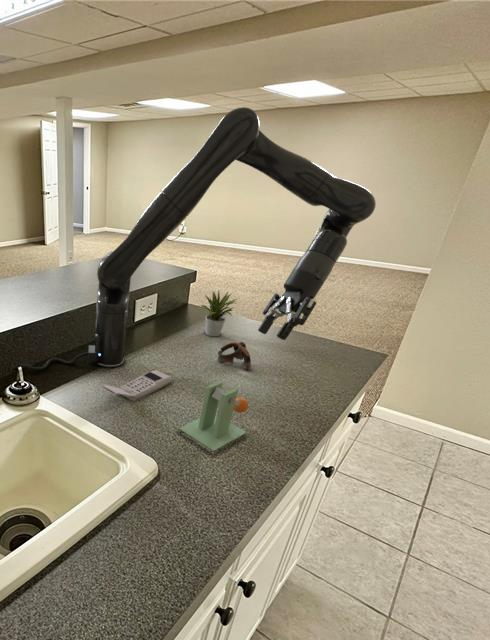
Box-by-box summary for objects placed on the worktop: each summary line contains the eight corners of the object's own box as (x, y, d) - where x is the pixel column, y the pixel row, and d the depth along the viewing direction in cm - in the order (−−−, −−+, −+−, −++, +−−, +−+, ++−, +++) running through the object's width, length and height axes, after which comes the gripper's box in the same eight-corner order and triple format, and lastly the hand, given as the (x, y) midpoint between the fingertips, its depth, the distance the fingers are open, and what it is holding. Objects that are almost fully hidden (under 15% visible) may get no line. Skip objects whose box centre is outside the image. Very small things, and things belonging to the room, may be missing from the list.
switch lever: (233, 409, 99) (240, 396, 99) (245, 416, 97) (253, 403, 96) (207, 397, 89) (215, 383, 89) (220, 404, 87) (229, 389, 86)
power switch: (210, 417, 101) (220, 372, 95) (245, 437, 94) (258, 390, 88) (178, 433, 95) (186, 386, 88) (212, 455, 88) (224, 406, 81)
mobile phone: (100, 384, 102) (161, 357, 117) (98, 403, 105) (158, 374, 120) (117, 394, 98) (178, 364, 113) (115, 414, 101) (175, 382, 116)
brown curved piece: (250, 376, 121) (241, 354, 118) (219, 380, 128) (210, 359, 124) (258, 353, 129) (250, 332, 125) (229, 357, 135) (221, 337, 132)
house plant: (226, 346, 140) (236, 300, 132) (188, 336, 146) (195, 292, 138) (237, 333, 150) (247, 290, 142) (200, 325, 157) (208, 283, 149)
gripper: (279, 267, 102) (244, 324, 105) (316, 267, 88) (274, 333, 91) (302, 281, 103) (266, 337, 107) (342, 284, 90) (300, 347, 93)
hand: (270, 335), depth 99 cm, fingers open, 8 cm apart
